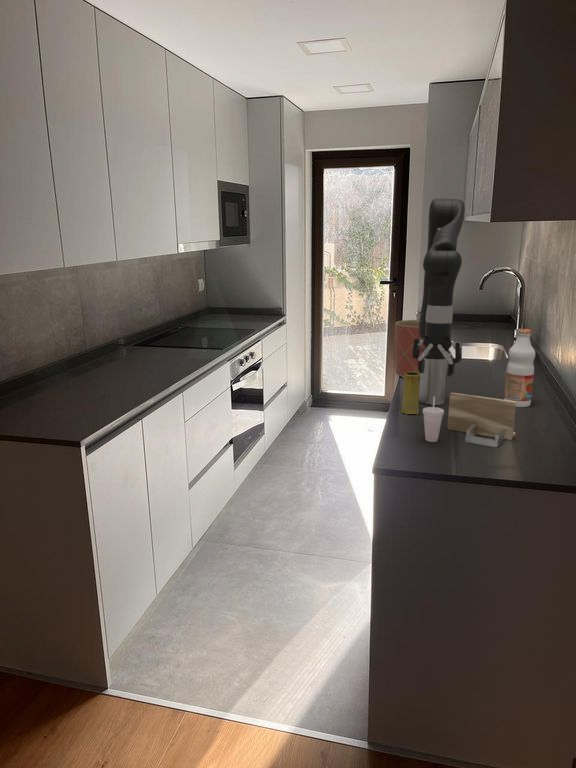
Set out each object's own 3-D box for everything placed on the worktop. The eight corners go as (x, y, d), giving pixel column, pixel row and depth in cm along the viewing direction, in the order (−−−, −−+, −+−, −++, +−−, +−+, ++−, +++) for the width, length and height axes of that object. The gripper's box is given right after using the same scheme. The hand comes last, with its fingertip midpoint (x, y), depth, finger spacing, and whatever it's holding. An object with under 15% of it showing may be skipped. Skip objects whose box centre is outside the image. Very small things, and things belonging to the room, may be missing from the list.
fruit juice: (501, 400, 225) (508, 327, 218) (527, 401, 224) (535, 328, 217) (505, 407, 216) (512, 331, 210) (532, 408, 215) (540, 332, 208)
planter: (441, 370, 275) (444, 320, 269) (448, 382, 253) (452, 327, 247) (391, 369, 277) (393, 319, 271) (394, 380, 255) (397, 326, 250)
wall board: (452, 424, 196) (454, 389, 193) (515, 435, 186) (518, 398, 183) (447, 429, 192) (449, 393, 189) (511, 440, 182) (515, 402, 179)
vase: (416, 409, 213) (418, 371, 210) (420, 414, 207) (422, 375, 204) (399, 410, 213) (401, 371, 209) (403, 415, 207) (405, 375, 203)
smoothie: (421, 442, 179) (424, 398, 176) (420, 436, 186) (422, 392, 182) (443, 444, 178) (446, 399, 175) (441, 437, 185) (444, 393, 181)
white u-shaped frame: (473, 433, 188) (473, 423, 187) (504, 438, 183) (505, 428, 182) (464, 441, 180) (465, 430, 179) (497, 447, 175) (498, 436, 175)
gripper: (466, 320, 172) (463, 374, 176) (419, 317, 180) (417, 369, 184) (459, 323, 166) (455, 379, 170) (411, 320, 174) (408, 374, 177)
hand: (435, 374), depth 177 cm, fingers open, 8 cm apart
